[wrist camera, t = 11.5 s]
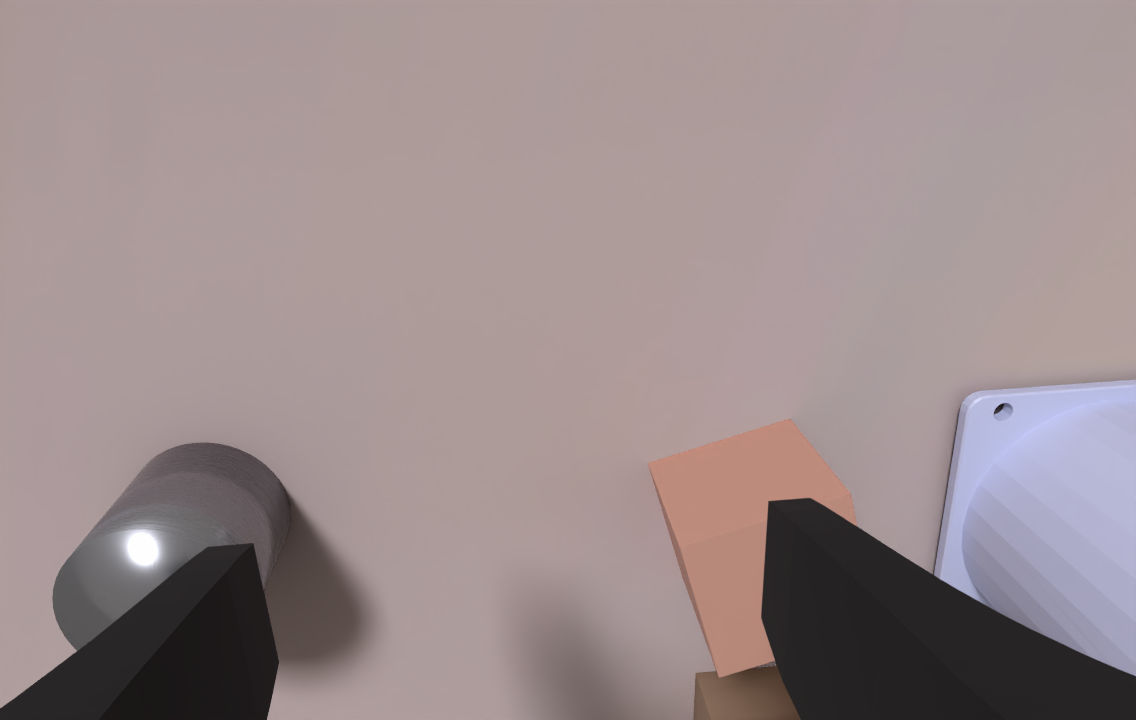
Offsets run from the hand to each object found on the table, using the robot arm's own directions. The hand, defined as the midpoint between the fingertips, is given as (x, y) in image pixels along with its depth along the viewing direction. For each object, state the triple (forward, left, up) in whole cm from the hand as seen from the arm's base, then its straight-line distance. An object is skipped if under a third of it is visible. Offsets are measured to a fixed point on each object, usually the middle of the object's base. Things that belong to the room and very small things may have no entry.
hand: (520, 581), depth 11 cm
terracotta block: (-6, +5, -10) cm, 12 cm away
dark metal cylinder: (+8, +4, -10) cm, 13 cm away
